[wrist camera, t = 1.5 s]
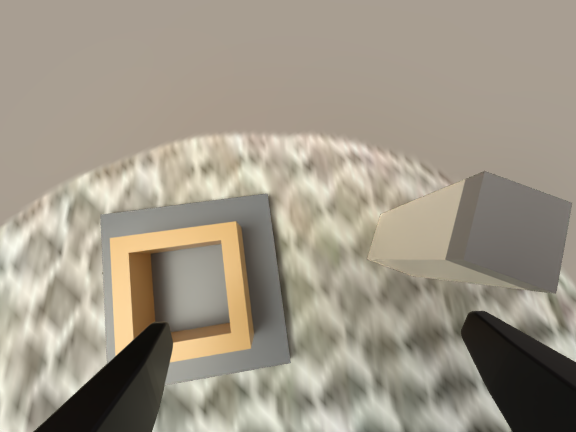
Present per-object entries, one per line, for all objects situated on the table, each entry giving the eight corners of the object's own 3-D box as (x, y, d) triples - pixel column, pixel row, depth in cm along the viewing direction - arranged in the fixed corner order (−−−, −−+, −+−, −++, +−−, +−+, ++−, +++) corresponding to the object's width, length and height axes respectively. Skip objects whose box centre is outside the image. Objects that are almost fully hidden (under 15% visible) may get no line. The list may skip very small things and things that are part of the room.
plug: (412, 276, 24) (556, 293, 12) (366, 259, 24) (463, 259, 12) (425, 230, 25) (572, 202, 13) (380, 214, 25) (485, 170, 13)
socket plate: (289, 358, 23) (294, 382, 18) (115, 389, 22) (75, 422, 17) (267, 196, 25) (266, 182, 20) (107, 216, 24) (69, 206, 19)
